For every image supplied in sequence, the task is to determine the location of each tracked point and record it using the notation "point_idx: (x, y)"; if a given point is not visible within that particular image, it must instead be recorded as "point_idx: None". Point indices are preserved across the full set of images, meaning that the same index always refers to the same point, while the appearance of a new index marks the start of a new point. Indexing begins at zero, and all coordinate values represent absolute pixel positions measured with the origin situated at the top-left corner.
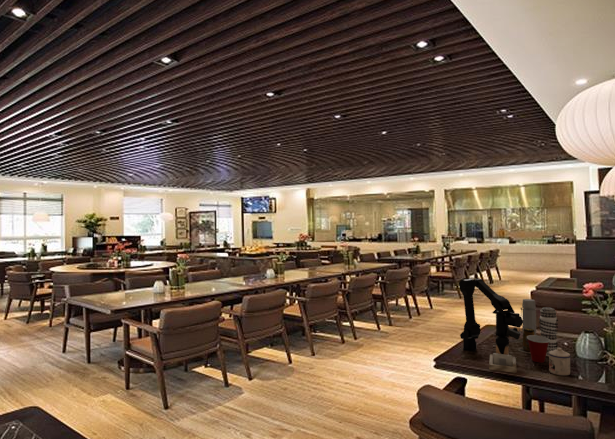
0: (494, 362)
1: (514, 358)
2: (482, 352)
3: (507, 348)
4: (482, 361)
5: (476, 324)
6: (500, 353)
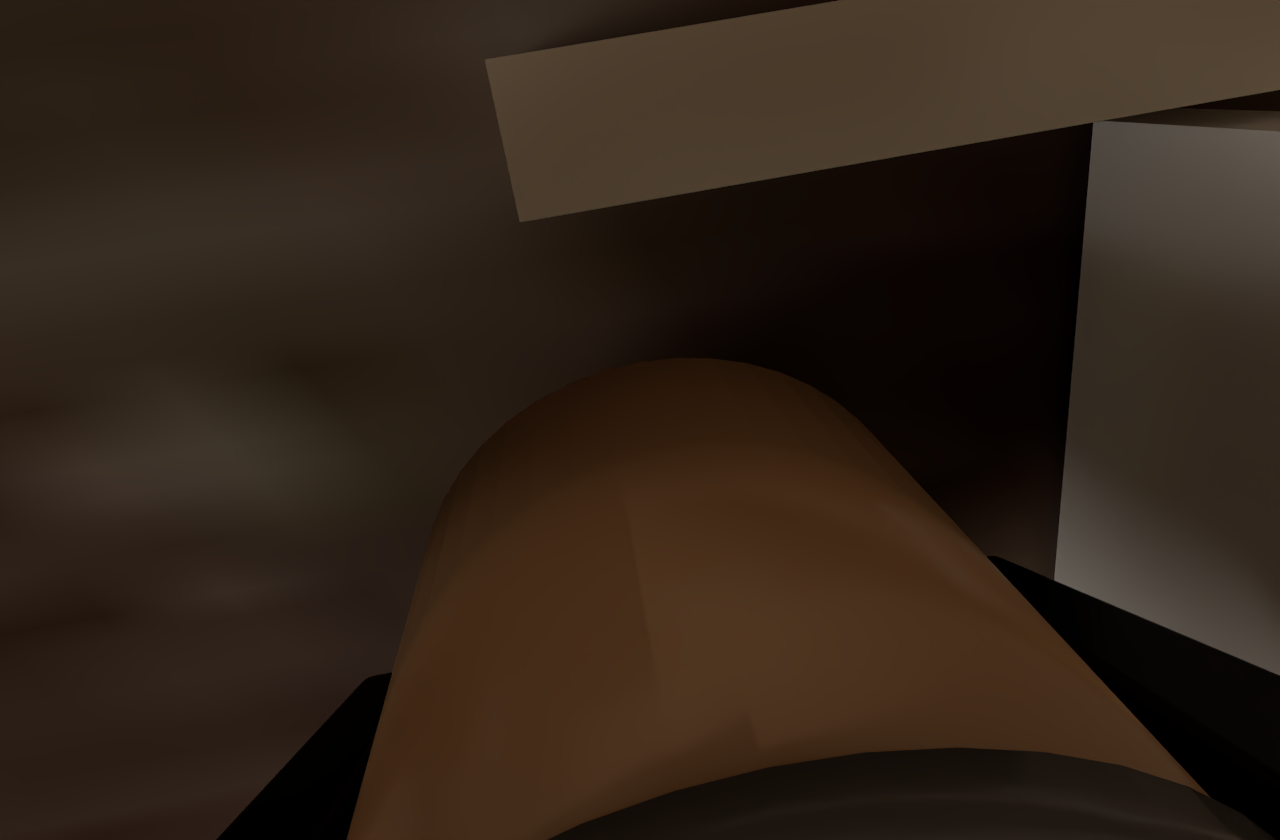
0: None
1: (796, 60)
2: None
3: (1019, 642)
4: None
5: None
6: None
